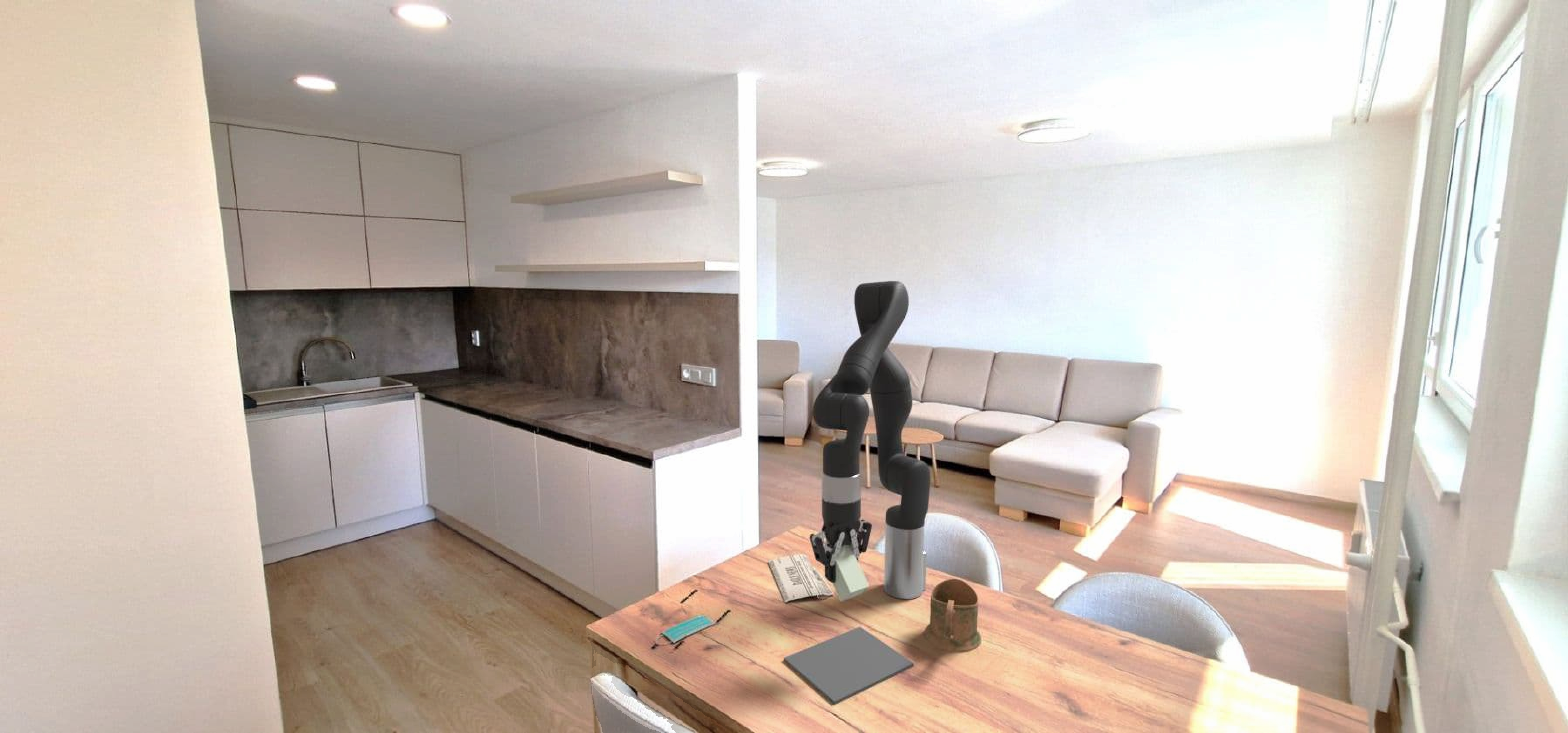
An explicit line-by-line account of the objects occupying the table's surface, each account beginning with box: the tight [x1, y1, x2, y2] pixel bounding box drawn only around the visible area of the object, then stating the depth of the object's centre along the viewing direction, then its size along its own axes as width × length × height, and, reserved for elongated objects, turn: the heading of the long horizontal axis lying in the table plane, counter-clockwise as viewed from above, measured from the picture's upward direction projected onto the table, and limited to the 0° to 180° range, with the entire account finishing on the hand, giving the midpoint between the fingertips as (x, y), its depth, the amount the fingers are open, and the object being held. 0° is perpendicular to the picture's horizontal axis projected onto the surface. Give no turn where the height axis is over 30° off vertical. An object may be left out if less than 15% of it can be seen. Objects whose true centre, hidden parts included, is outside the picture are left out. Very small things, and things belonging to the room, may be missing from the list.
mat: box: [783, 626, 915, 705], centre depth 128 cm, size 20×16×1 cm
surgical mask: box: [650, 589, 732, 650], centre depth 140 cm, size 21×4×10 cm
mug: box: [924, 578, 982, 653], centre depth 134 cm, size 12×18×12 cm, turn 160°
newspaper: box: [768, 553, 835, 604], centre depth 163 cm, size 23×12×2 cm, turn 12°
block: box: [830, 544, 870, 602], centre depth 126 cm, size 4×4×10 cm
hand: (841, 577), depth 127 cm, fingers closed on block, 4 cm apart
